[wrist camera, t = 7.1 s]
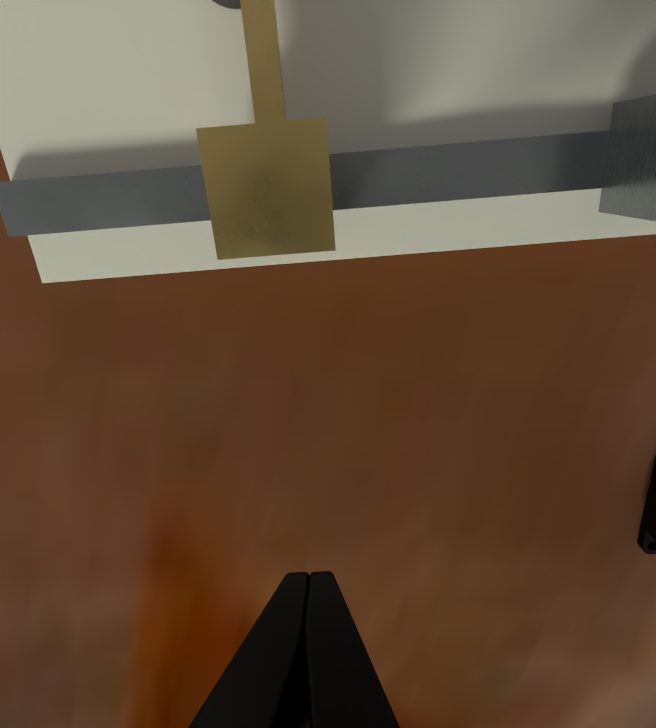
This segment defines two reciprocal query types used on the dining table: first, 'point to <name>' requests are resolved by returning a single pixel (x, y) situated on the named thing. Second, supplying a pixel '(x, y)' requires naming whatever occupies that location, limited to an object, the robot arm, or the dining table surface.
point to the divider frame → (371, 179)
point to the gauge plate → (315, 108)
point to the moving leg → (267, 162)
